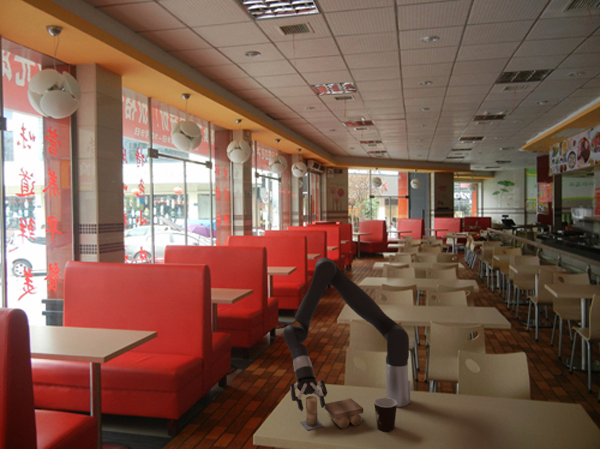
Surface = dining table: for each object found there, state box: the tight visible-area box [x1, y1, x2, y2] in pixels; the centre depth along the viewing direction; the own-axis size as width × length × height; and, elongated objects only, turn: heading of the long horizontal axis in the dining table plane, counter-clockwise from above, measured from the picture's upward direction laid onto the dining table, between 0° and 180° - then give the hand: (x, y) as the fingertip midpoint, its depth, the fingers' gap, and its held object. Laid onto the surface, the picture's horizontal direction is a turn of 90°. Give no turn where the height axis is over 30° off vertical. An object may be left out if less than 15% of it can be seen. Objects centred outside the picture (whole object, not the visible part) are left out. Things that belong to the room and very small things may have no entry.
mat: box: [300, 419, 325, 431], centre depth 182 cm, size 7×7×1 cm
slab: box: [324, 398, 364, 430], centre depth 184 cm, size 12×10×6 cm
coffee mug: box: [373, 397, 398, 433], centre depth 180 cm, size 12×9×10 cm
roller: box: [305, 395, 319, 426], centre depth 182 cm, size 4×4×10 cm
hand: (312, 408), depth 181 cm, fingers open, 8 cm apart
